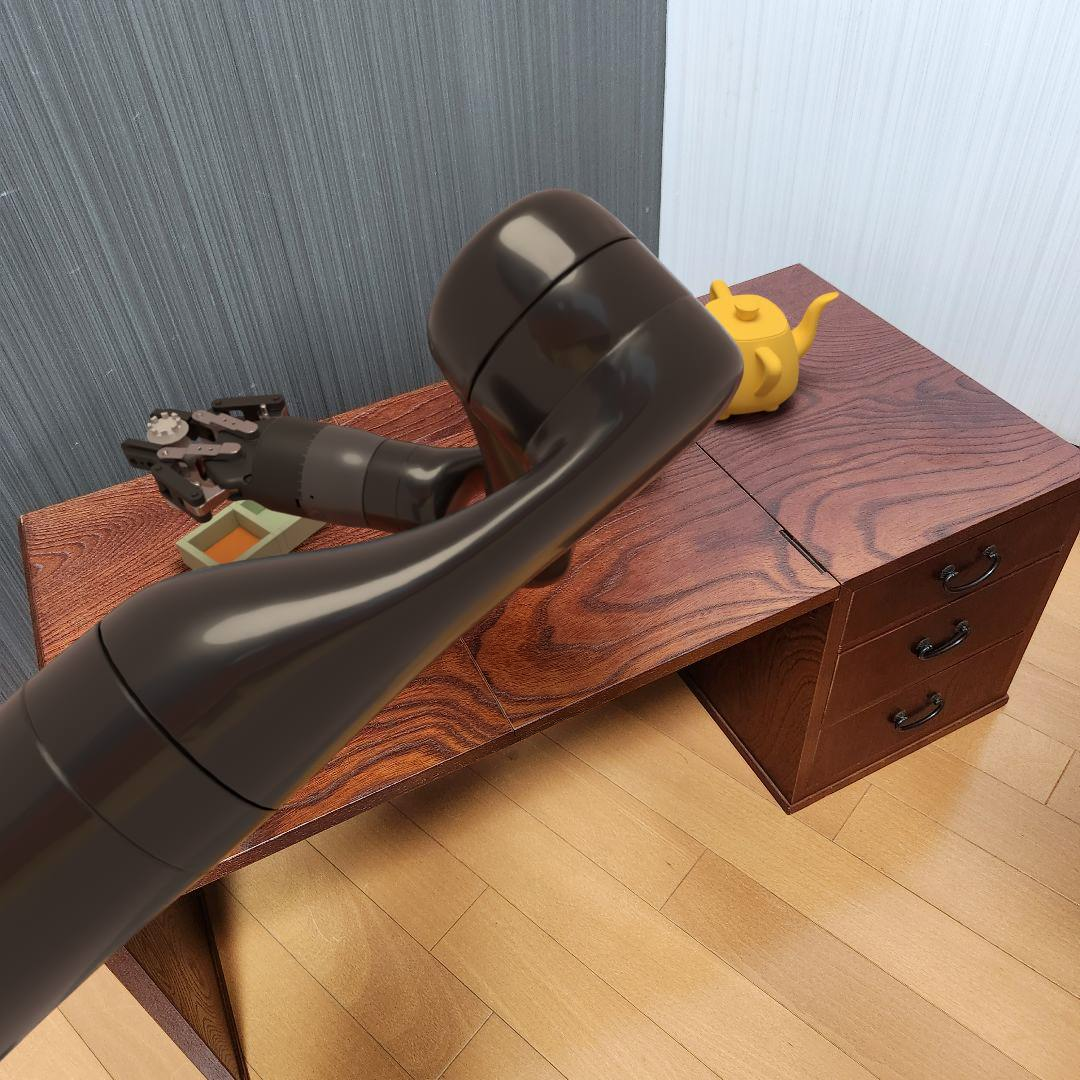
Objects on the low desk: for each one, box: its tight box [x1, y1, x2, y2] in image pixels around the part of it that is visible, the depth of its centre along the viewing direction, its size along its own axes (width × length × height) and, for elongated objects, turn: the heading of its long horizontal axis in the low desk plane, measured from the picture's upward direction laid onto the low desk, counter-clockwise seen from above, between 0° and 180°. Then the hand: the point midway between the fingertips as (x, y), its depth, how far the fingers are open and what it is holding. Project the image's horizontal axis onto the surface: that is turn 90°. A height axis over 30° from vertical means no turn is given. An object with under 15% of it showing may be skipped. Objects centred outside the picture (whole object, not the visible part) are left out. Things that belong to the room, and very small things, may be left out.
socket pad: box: [175, 500, 327, 570], centre depth 91 cm, size 13×7×3 cm, turn 142°
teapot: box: [704, 279, 840, 421], centre depth 101 cm, size 14×14×12 cm
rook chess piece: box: [146, 412, 193, 512], centre depth 76 cm, size 4×4×8 cm
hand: (141, 435), depth 75 cm, fingers closed on rook chess piece, 3 cm apart
